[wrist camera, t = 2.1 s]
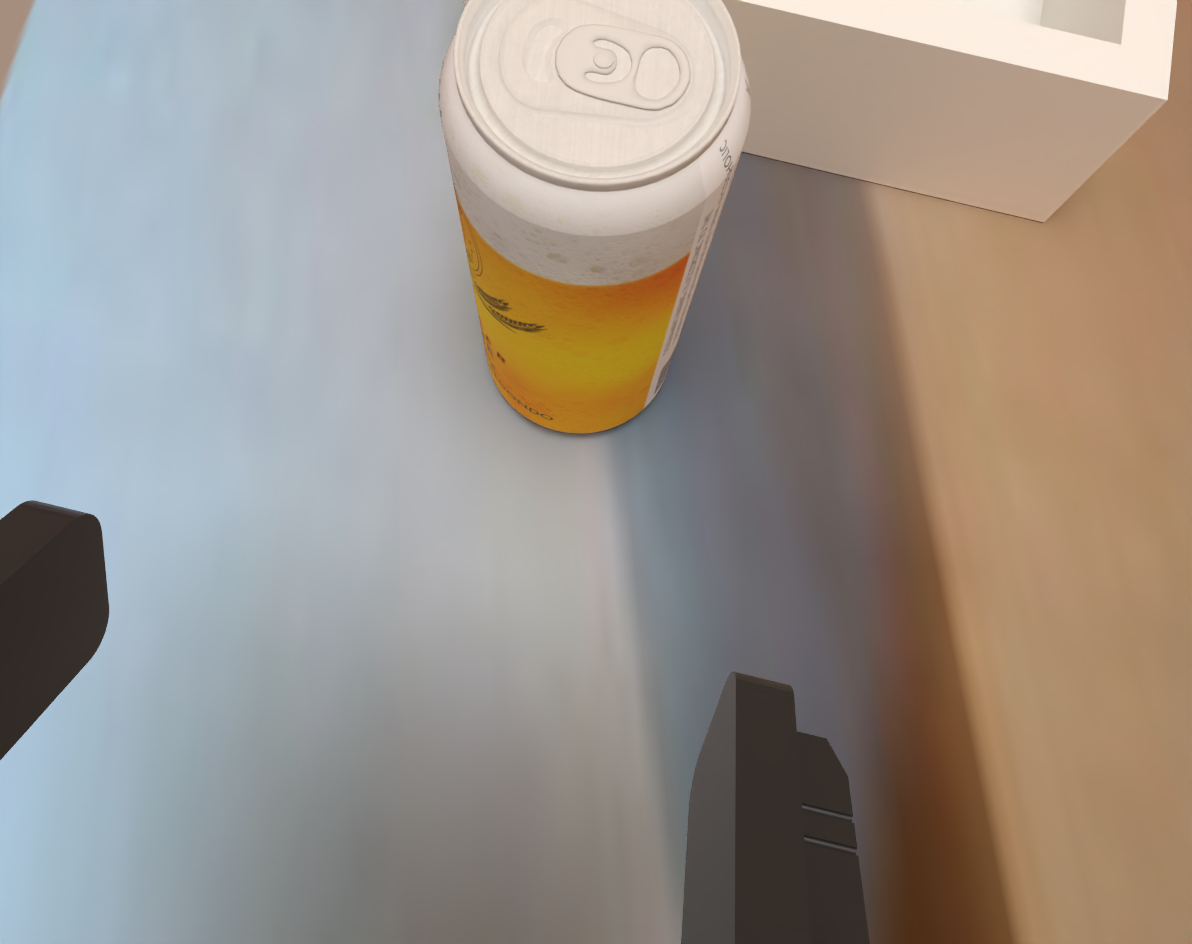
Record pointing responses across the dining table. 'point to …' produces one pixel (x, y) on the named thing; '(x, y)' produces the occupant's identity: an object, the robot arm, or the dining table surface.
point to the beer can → (589, 188)
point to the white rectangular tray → (954, 91)
